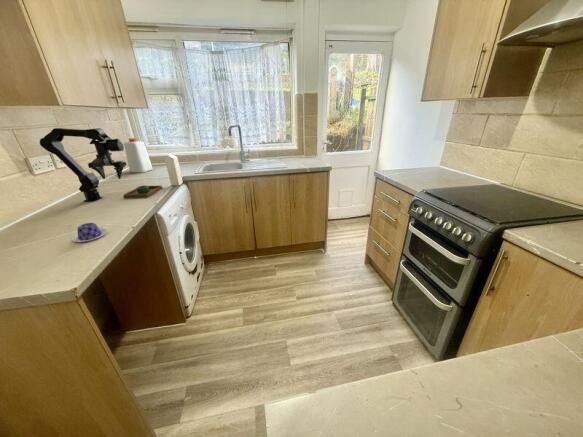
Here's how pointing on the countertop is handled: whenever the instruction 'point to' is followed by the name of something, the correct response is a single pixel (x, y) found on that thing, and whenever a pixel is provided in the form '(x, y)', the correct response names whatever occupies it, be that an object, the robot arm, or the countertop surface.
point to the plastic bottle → (137, 156)
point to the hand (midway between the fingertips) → (112, 178)
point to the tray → (135, 193)
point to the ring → (143, 189)
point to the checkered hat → (88, 232)
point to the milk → (173, 170)
